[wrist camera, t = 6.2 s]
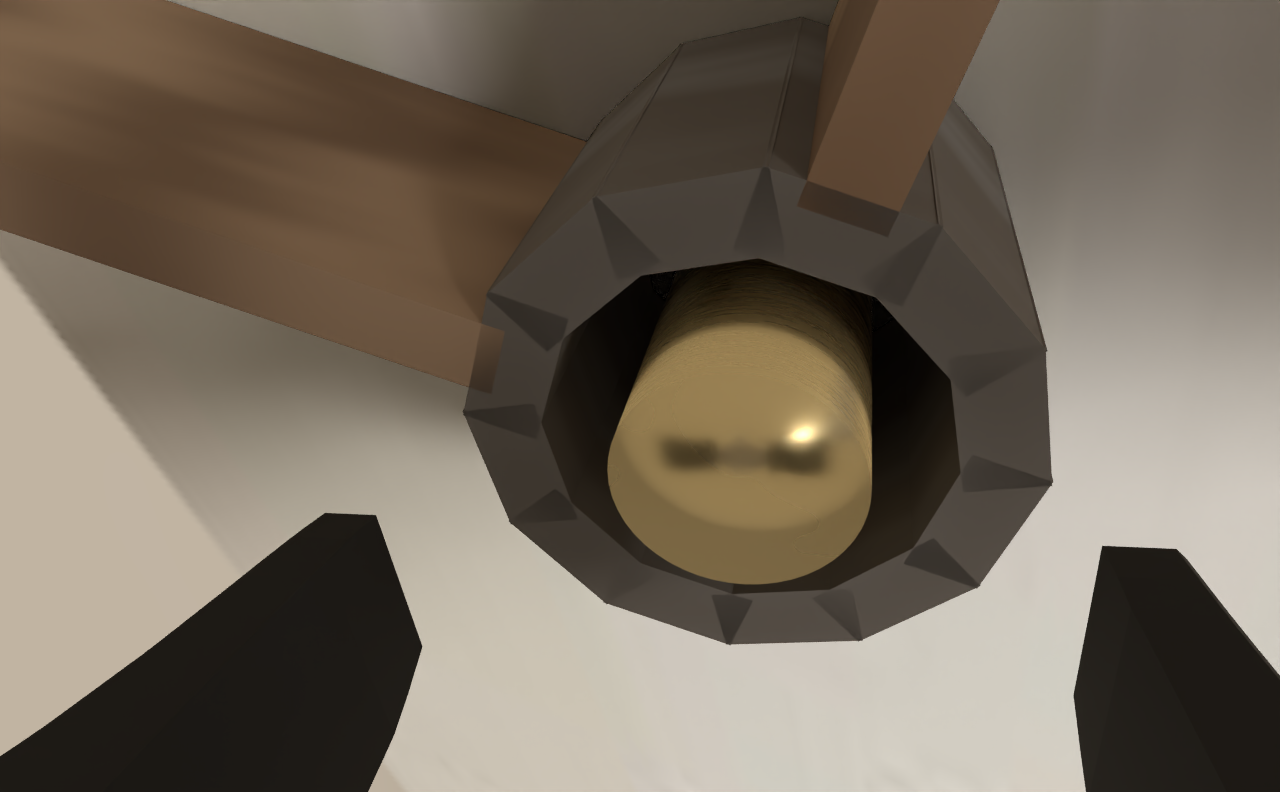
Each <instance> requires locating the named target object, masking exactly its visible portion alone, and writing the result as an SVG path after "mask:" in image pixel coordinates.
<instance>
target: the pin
mask: <svg viewBox="0 0 1280 792" xmlns="http://www.w3.org/2000/svg"><path fill="white" fill-rule="evenodd" d="M607 472H608V482H609V487H610V491H611V495H612V498H613V500H614V503H615V505H616V507H617V510H618V511H619V513H620V515H621V517H622V518H623V520H624V522H625V523H626V524H627V526H628V527H629V528H630V529H631V531H632V532H633V533H634V534H635V535H636V536H637V537H638V538H639V539H640V540H641V541H642V542H643V543H644V544H645V545H646V546H647V547H648V548H650V549H651V550H652V551H653V552H654V553H656V554H657V555H659V556H660V557H662V558H663V559H665V560H666V561H668V562H670V563H672V564H673V565H675V566H677V567H679V568H681V569H683V570H686V571H688V572H691V573H693V574H696V575H698V576H702V577H705V578H709V579H712V580H717V581H722V582H728V583H737V584H768V583H778V582H782V581H787V580H792V579H795V578H798V577H801V576H804V575H807V574H809V573H812V572H814V571H816V570H818V569H820V568H822V567H824V566H825V565H827V564H828V563H830V562H832V561H833V560H834V559H836V558H837V557H838V556H839V555H840V554H842V553H843V552H844V551H845V550H846V549H847V548H848V547H849V546H850V545H851V543H852V542H853V541H854V540H855V538H856V537H857V535H858V534H859V532H860V531H861V529H862V527H863V525H864V523H865V520H866V518H867V515H868V512H869V508H870V504H871V493H872V296H870V295H867V294H864V293H861V292H858V291H855V290H852V289H849V288H846V287H843V286H840V285H837V284H834V283H831V282H828V281H825V280H822V279H819V278H816V277H813V276H810V275H807V274H804V273H801V272H798V271H796V270H793V269H790V268H787V267H784V266H781V265H778V264H775V263H772V262H769V261H766V260H763V259H760V258H756V259H749V260H743V261H736V262H729V263H722V264H716V265H709V266H702V267H696V268H689V269H682V270H677V272H676V274H675V277H674V280H673V282H672V285H671V288H670V290H669V293H668V296H667V298H666V301H665V303H664V306H663V309H662V311H661V314H660V317H659V319H658V322H657V325H656V327H655V330H654V332H653V335H652V338H651V340H650V343H649V346H648V348H647V351H646V353H645V356H644V359H643V361H642V364H641V367H640V369H639V372H638V375H637V377H636V380H635V382H634V385H633V388H632V390H631V393H630V396H629V398H628V401H627V404H626V406H625V409H624V411H623V414H622V417H621V419H620V422H619V425H618V427H617V430H616V432H615V435H614V438H613V440H612V443H611V447H610V451H609V456H608V468H607Z"/></svg>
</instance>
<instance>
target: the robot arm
mask: <svg viewBox="0 0 1280 792" xmlns="http://www.w3.org/2000/svg"><path fill="white" fill-rule="evenodd" d="M421 649H422V644H421V641H420V638H419V636H418V633H417V630H416V627H415V624H414V621H413V619H412V616H411V613H410V610H409V607H408V605H407V602H406V599H405V596H404V593H403V590H402V588H401V585H400V582H399V579H398V576H397V573H396V571H395V568H394V565H393V562H392V559H391V556H390V554H389V551H388V548H387V545H386V542H385V539H384V537H383V534H382V531H381V528H380V525H379V523H378V520H377V517H376V515H358V514H335V513H324V514H323V515H322V516H320V517H319V518H317V519H316V520H315V521H313V522H312V523H310V524H309V525H308V526H306V527H305V528H304V529H302V530H301V531H300V532H298V533H297V534H296V535H294V536H293V537H292V538H290V539H289V540H288V541H286V542H285V543H284V544H283V545H281V546H280V547H279V548H277V549H276V550H275V551H274V552H272V553H271V554H270V555H269V556H267V557H266V558H265V559H263V560H262V561H261V562H260V563H258V564H257V565H256V566H255V567H253V568H252V569H251V570H250V571H248V572H247V573H246V574H245V575H243V576H242V577H241V578H240V579H238V580H237V581H236V582H235V583H233V584H232V585H231V586H229V587H228V588H227V589H226V590H225V591H223V592H222V593H221V594H219V595H218V596H217V597H216V598H214V599H213V600H212V601H211V602H209V603H208V604H207V605H205V606H204V607H203V608H202V609H200V610H199V611H198V612H197V613H195V614H194V615H193V616H192V617H190V618H189V619H188V620H186V621H185V622H184V623H183V624H181V625H180V626H179V627H177V628H176V629H175V630H174V631H172V632H171V633H170V634H168V635H167V636H166V637H165V638H163V639H162V640H161V641H160V642H158V643H157V644H156V645H154V646H153V647H152V648H151V649H149V650H148V651H147V652H145V653H144V654H143V655H142V656H140V657H139V658H137V659H136V660H135V661H133V662H132V663H130V664H129V665H128V666H126V667H125V668H124V669H122V670H121V671H119V672H118V673H117V674H115V675H114V676H113V677H111V678H110V679H109V680H107V681H106V682H104V683H103V684H102V685H100V686H99V687H98V688H96V689H95V690H94V691H92V692H91V693H89V694H88V695H87V696H85V697H84V698H83V699H81V700H80V701H78V702H77V703H76V704H74V705H73V706H72V707H70V708H69V709H68V710H66V711H65V712H63V713H62V714H61V715H59V716H58V717H57V718H55V719H54V720H53V721H51V722H50V723H48V724H47V725H46V726H44V727H43V728H41V729H40V730H38V731H37V732H35V733H34V734H33V735H31V736H30V737H29V738H27V739H25V740H24V741H22V742H21V743H19V744H18V745H16V746H15V747H13V748H12V749H11V750H9V751H7V752H6V753H5V754H3V755H1V756H0V792H368V791H369V789H370V786H371V784H372V782H373V780H374V778H375V775H376V773H377V771H378V769H379V767H380V765H381V763H382V760H383V758H384V756H385V754H386V752H387V749H388V747H389V745H390V743H391V740H392V738H393V736H394V734H395V731H396V728H397V725H398V722H399V719H400V716H401V713H402V710H403V707H404V704H405V701H406V698H407V695H408V692H409V689H410V686H411V682H412V679H413V676H414V672H415V669H416V666H417V663H418V659H419V656H420V653H421ZM1074 702H1075V710H1076V718H1077V727H1078V735H1079V743H1080V751H1081V758H1082V766H1083V773H1084V780H1085V787H1086V792H1280V675H1279V674H1278V673H1277V672H1276V671H1275V669H1274V668H1273V667H1272V666H1271V664H1270V663H1269V662H1268V661H1267V660H1266V658H1265V657H1264V656H1263V655H1262V653H1261V652H1260V651H1259V650H1258V649H1257V647H1256V646H1255V645H1254V644H1253V642H1252V641H1251V640H1250V639H1249V638H1248V636H1247V635H1246V634H1245V633H1244V631H1243V630H1242V629H1241V628H1240V626H1239V625H1238V624H1237V623H1236V621H1235V620H1234V619H1233V618H1232V616H1231V615H1230V614H1229V613H1228V611H1227V610H1226V609H1225V607H1224V606H1223V605H1222V604H1221V602H1220V601H1219V600H1218V599H1217V597H1216V596H1215V595H1214V593H1213V592H1212V591H1211V590H1210V588H1209V587H1208V586H1207V584H1206V583H1205V582H1204V581H1203V579H1202V578H1201V577H1200V575H1199V574H1198V573H1197V572H1196V570H1195V569H1194V568H1193V566H1192V565H1191V564H1190V563H1189V561H1188V560H1187V559H1186V558H1185V557H1184V556H1183V555H1182V554H1181V553H1180V552H1179V551H1178V550H1177V549H1162V548H1138V547H1115V546H1102V550H1101V555H1100V560H1099V566H1098V571H1097V576H1096V581H1095V586H1094V592H1093V597H1092V602H1091V607H1090V613H1089V618H1088V623H1087V628H1086V633H1085V639H1084V644H1083V649H1082V654H1081V659H1080V665H1079V670H1078V675H1077V680H1076V685H1075V691H1074Z"/></svg>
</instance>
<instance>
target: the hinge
mask: <svg viewBox="0 0 1280 792" xmlns="http://www.w3.org/2000/svg"><path fill="white" fill-rule="evenodd" d="M999 1H1000V0H839V1H838V3H837V6H836V9H835V11H834V14H833V17H832V19H831V22H830V25H829V26H826V25H823V24H820V23H817V22H814V21H811V20H808V19H805V18H804V17H799V18H796V19H792V20H787V21H783V22H778V23H774V24H769V25H765V26H760V27H755V28H751V29H746V30H742V31H737V32H733V33H728V34H724V35H719V36H715V37H710V38H706V39H701V40H697V41H692V42H688V43H684V42H683V43H682V44H680V45H679V47H678V48H677V49H676V50H675V51H674V52H673V53H672V54H671V55H670V56H669V57H668V58H667V59H666V60H665V61H664V62H663V63H661V64H660V65H659V66H658V67H657V68H656V69H655V70H654V71H653V72H652V73H651V74H650V75H649V76H648V77H647V78H646V79H645V80H644V81H643V82H642V83H641V84H640V85H638V86H637V87H636V88H635V89H634V90H633V91H632V92H631V93H630V94H629V95H628V96H627V97H626V98H625V99H624V100H623V101H622V102H621V103H620V104H619V105H618V106H617V107H616V108H614V109H613V110H612V111H611V112H610V113H609V114H608V115H607V116H606V117H605V118H604V119H602V120H601V121H600V123H599V124H598V126H597V127H596V129H595V130H594V132H593V133H592V135H591V136H590V138H589V139H588V141H587V142H586V141H583V140H580V139H577V138H574V137H571V136H568V135H565V134H562V133H559V132H556V131H553V130H550V129H547V128H544V127H541V126H538V125H535V124H532V123H529V122H526V121H523V120H520V119H517V118H514V117H511V116H508V115H505V114H502V113H500V112H497V111H494V110H491V109H488V108H485V107H482V106H479V105H476V104H473V103H470V102H467V101H464V100H461V99H458V98H455V97H452V96H449V95H446V94H443V93H440V92H437V91H434V90H431V89H428V88H425V87H422V86H419V85H416V84H413V83H410V82H407V81H404V80H401V79H398V78H395V77H392V76H389V75H387V74H384V73H381V72H378V71H375V70H372V69H369V68H366V67H363V66H360V65H357V64H354V63H351V62H348V61H345V60H342V59H339V58H336V57H333V56H330V55H327V54H324V53H321V52H318V51H315V50H312V49H309V48H306V47H303V46H300V45H297V44H294V43H291V42H288V41H285V40H282V39H279V38H276V37H274V36H271V35H268V34H265V33H262V32H259V31H256V30H253V29H250V28H247V27H244V26H241V25H238V24H235V23H232V22H229V21H226V20H223V19H220V18H217V17H214V16H211V15H208V14H205V13H202V12H199V11H196V10H193V9H190V8H187V7H184V6H181V5H178V4H175V3H172V2H169V1H166V0H0V229H1V230H4V231H7V232H10V233H13V234H16V235H19V236H22V237H25V238H27V239H30V240H33V241H36V242H39V243H42V244H45V245H48V246H51V247H54V248H57V249H60V250H63V251H66V252H69V253H72V254H75V255H78V256H81V257H84V258H87V259H90V260H93V261H96V262H99V263H102V264H105V265H108V266H111V267H113V268H116V269H119V270H122V271H125V272H128V273H131V274H134V275H137V276H140V277H143V278H146V279H149V280H152V281H155V282H158V283H161V284H164V285H167V286H170V287H173V288H176V289H179V290H182V291H185V292H188V293H191V294H194V295H197V296H199V297H202V298H205V299H208V300H211V301H214V302H217V303H220V304H223V305H226V306H229V307H232V308H235V309H238V310H241V311H244V312H247V313H250V314H253V315H256V316H259V317H262V318H265V319H268V320H271V321H274V322H277V323H280V324H283V325H286V326H288V327H291V328H294V329H297V330H300V331H303V332H306V333H309V334H312V335H315V336H318V337H321V338H324V339H327V340H330V341H333V342H336V343H339V344H342V345H345V346H348V347H351V348H354V349H357V350H360V351H363V352H366V353H369V354H372V355H374V356H377V357H380V358H383V359H386V360H389V361H392V362H395V363H398V364H401V365H404V366H407V367H410V368H413V369H416V370H419V371H422V372H425V373H428V374H431V375H434V376H437V377H440V378H443V379H446V380H449V381H452V382H455V383H458V384H460V385H463V386H466V387H469V389H468V394H467V399H466V404H465V408H464V410H463V413H464V414H463V415H464V416H465V418H466V420H467V422H468V425H469V427H470V429H471V432H472V434H473V436H474V439H475V441H476V443H477V446H478V448H479V450H480V453H481V455H482V457H483V460H484V462H485V464H486V467H487V469H488V471H489V474H490V476H491V478H492V481H493V483H494V485H495V488H496V490H497V492H498V495H499V497H500V499H501V502H502V504H503V506H504V509H505V511H506V513H507V516H508V518H509V522H510V523H511V524H513V525H514V526H515V527H516V528H517V529H519V530H520V531H521V532H522V533H523V534H525V535H526V536H527V537H528V538H529V539H530V540H532V541H533V542H534V543H535V544H536V545H538V546H539V547H540V548H541V549H542V550H543V551H545V552H546V553H547V554H548V555H549V556H551V557H552V558H553V559H554V560H555V561H557V562H558V563H559V564H560V565H561V566H562V567H564V568H565V569H566V570H567V571H568V572H570V573H571V574H572V575H573V576H574V577H575V578H577V579H578V580H579V581H580V582H581V583H583V584H584V585H585V586H586V587H587V588H588V589H590V590H591V591H592V592H593V593H594V594H596V595H597V596H598V597H599V598H600V599H601V600H603V601H604V603H606V604H610V605H613V606H616V607H619V608H622V609H625V610H628V611H631V612H634V613H637V614H640V615H643V616H646V617H649V618H652V619H655V620H658V621H661V622H664V623H667V624H670V625H673V626H676V627H678V628H681V629H684V630H687V631H690V632H693V633H696V634H699V635H702V636H705V637H708V638H711V639H714V640H717V641H720V642H723V643H726V644H729V645H731V644H758V643H794V642H829V641H863V639H865V638H867V637H869V636H871V635H874V634H876V633H878V632H880V631H882V630H885V629H887V628H889V627H891V626H893V625H896V624H898V623H900V622H902V621H904V620H907V619H909V618H911V617H913V616H915V615H917V614H920V613H922V612H924V611H926V610H928V609H931V608H933V607H935V606H937V605H939V604H942V603H944V602H946V601H948V600H950V599H953V598H955V597H957V596H959V595H961V594H964V593H966V592H968V591H970V590H972V589H975V588H978V587H979V586H980V584H981V582H982V581H983V579H984V578H985V577H986V575H987V574H988V572H989V571H990V570H991V568H992V567H993V565H994V564H995V563H996V561H997V560H998V558H999V557H1000V556H1001V554H1002V553H1003V551H1004V550H1005V549H1006V547H1007V546H1008V544H1009V543H1010V542H1011V540H1012V539H1013V537H1014V536H1015V535H1016V533H1017V532H1018V530H1019V529H1020V528H1021V526H1022V525H1023V523H1024V522H1025V521H1026V519H1027V518H1028V517H1029V515H1030V514H1031V512H1032V511H1033V510H1034V508H1035V507H1036V505H1037V504H1038V503H1039V501H1040V500H1041V498H1042V497H1043V496H1044V494H1045V493H1046V491H1047V490H1048V489H1049V487H1050V486H1052V483H1053V479H1052V474H1051V455H1050V434H1049V412H1048V391H1047V370H1046V352H1047V348H1046V345H1045V341H1044V337H1043V333H1042V330H1041V326H1040V322H1039V319H1038V315H1037V311H1036V307H1035V304H1034V300H1033V296H1032V292H1031V289H1030V285H1029V281H1028V277H1027V274H1026V270H1025V266H1024V263H1023V259H1022V255H1021V251H1020V248H1019V244H1018V240H1017V236H1016V233H1015V229H1014V225H1013V222H1012V218H1011V214H1010V210H1009V207H1008V203H1007V199H1006V195H1005V192H1004V188H1003V184H1002V181H1001V177H1000V173H999V169H998V166H997V162H996V158H995V154H994V151H993V148H992V146H990V145H989V143H988V142H987V141H986V140H985V138H984V137H983V136H982V135H981V134H980V132H979V131H978V130H977V129H976V127H975V126H974V125H973V124H972V122H971V121H970V120H969V119H968V117H967V116H966V115H965V114H964V112H963V111H962V110H961V109H960V107H959V106H958V105H957V104H956V102H955V101H954V100H953V98H954V96H955V94H956V92H957V89H958V87H959V85H960V83H961V81H962V79H963V77H964V75H965V73H966V70H967V68H968V66H969V64H970V62H971V60H972V58H973V56H974V54H975V51H976V49H977V47H978V45H979V43H980V41H981V39H982V37H983V34H984V32H985V30H986V28H987V26H988V24H989V22H990V20H991V18H992V15H993V13H994V11H995V9H996V7H997V5H998V3H999ZM756 258H760V259H763V260H766V261H769V262H772V263H775V264H778V265H781V266H784V267H787V268H790V269H793V270H796V271H798V272H801V273H804V274H807V275H810V276H813V277H816V278H819V279H822V280H825V281H828V282H831V283H834V284H837V285H840V286H843V287H846V288H849V289H852V290H855V291H858V292H861V293H864V294H867V295H870V296H873V297H876V298H877V299H878V300H879V301H880V302H881V303H882V305H883V306H884V307H885V308H886V309H887V310H888V311H889V312H890V313H891V314H892V316H893V317H894V318H895V319H894V320H892V321H891V322H889V323H888V324H886V325H885V326H883V327H881V328H880V329H878V330H877V331H875V332H874V333H872V493H871V504H870V508H869V512H868V515H867V518H866V520H865V523H864V525H863V527H862V529H861V531H860V532H859V534H858V535H857V537H856V538H855V540H854V541H853V542H852V543H851V545H850V546H849V547H848V548H847V549H846V550H845V551H844V552H843V553H842V554H840V555H839V556H838V557H837V558H836V559H834V560H833V561H832V562H830V563H828V564H827V565H825V566H824V567H822V568H820V569H818V570H816V571H814V572H812V573H809V574H807V575H804V576H801V577H798V578H795V579H792V580H787V581H782V582H778V583H768V584H737V583H728V582H722V581H717V580H712V579H709V578H705V577H702V576H698V575H696V574H693V573H691V572H688V571H686V570H683V569H681V568H679V567H677V566H675V565H673V564H672V563H670V562H668V561H666V560H665V559H663V558H662V557H660V556H659V555H657V554H656V553H654V552H653V551H652V550H651V549H650V548H648V547H647V546H646V545H645V544H644V543H643V542H642V541H641V540H640V539H639V538H638V537H637V536H636V535H635V534H634V533H633V532H632V531H631V529H630V528H629V527H628V526H627V524H626V523H625V522H624V520H623V518H622V517H621V515H620V513H619V511H618V510H617V507H616V505H615V503H614V500H613V498H612V495H611V491H610V487H609V482H608V472H607V468H608V456H609V451H610V447H611V443H612V440H613V438H614V435H615V432H616V430H617V427H618V425H619V422H620V419H621V417H622V414H623V411H624V409H625V406H626V404H627V401H628V398H629V396H630V393H631V390H632V388H633V385H634V382H635V380H636V377H637V375H638V372H639V369H640V367H641V364H642V361H643V359H644V356H645V353H646V351H647V348H648V346H649V343H650V340H651V338H652V335H653V332H654V330H655V327H656V325H657V322H658V319H659V317H660V314H661V311H662V309H663V306H664V303H665V301H664V300H663V299H662V298H661V297H660V296H659V295H658V294H657V293H656V292H655V291H654V290H653V288H652V285H651V281H650V278H649V274H655V273H662V272H669V271H675V270H682V269H689V268H696V267H702V266H709V265H716V264H722V263H729V262H736V261H743V260H749V259H756Z"/></svg>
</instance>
